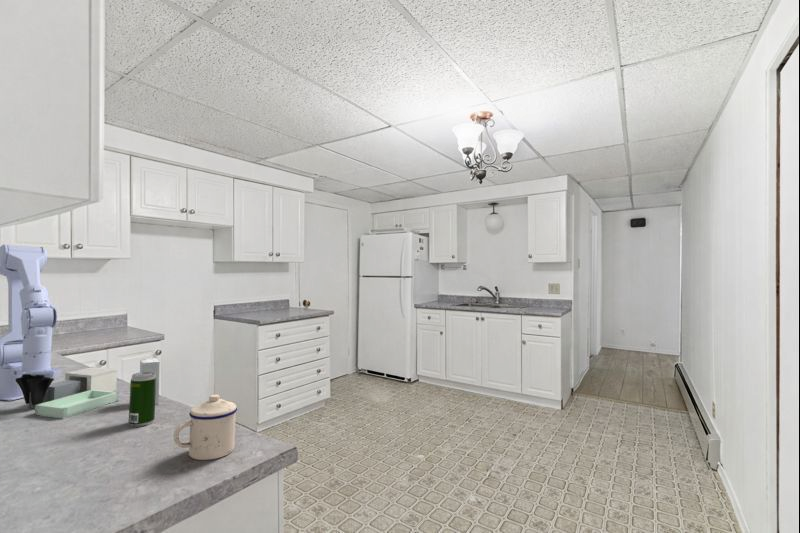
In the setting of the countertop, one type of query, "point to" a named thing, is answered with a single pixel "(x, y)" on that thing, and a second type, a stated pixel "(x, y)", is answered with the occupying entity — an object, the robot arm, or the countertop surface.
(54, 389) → the grey bottle-shaped block
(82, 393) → the tray
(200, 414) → the teacup with lid
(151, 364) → the skincare box
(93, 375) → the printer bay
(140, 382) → the beer can
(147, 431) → the countertop surface
